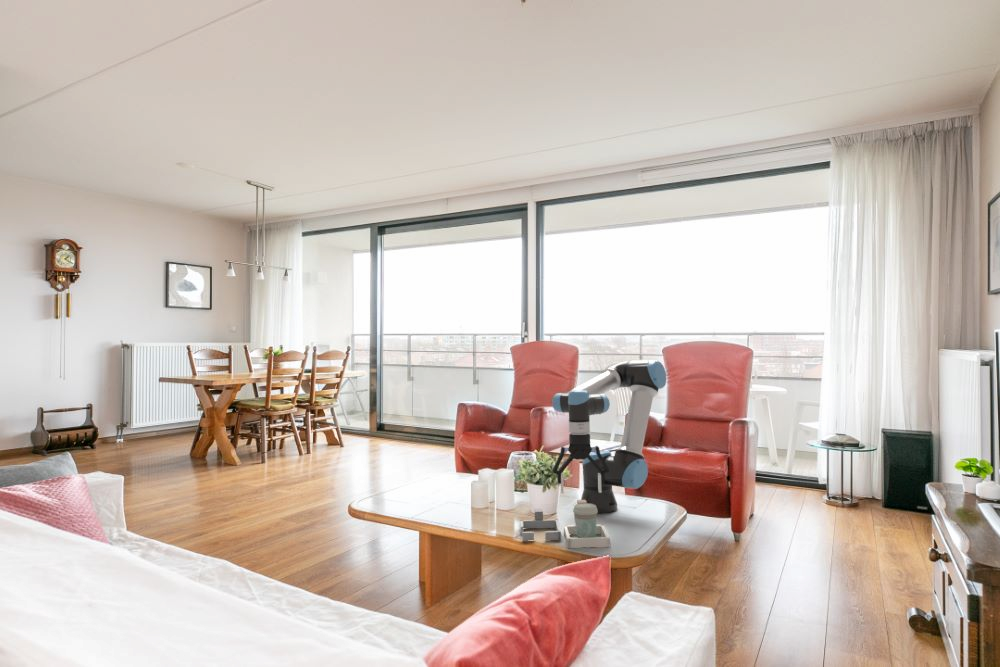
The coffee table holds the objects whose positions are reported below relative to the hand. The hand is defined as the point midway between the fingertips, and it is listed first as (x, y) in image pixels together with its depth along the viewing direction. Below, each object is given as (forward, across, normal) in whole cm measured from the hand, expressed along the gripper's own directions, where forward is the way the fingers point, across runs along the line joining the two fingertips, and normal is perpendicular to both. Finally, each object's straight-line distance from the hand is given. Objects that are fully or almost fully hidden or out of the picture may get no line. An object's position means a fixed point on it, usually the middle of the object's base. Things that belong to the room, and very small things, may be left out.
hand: (581, 492), depth 216 cm
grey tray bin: (+14, 0, -7) cm, 16 cm away
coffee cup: (+15, 0, -10) cm, 17 cm away
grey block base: (+14, -15, +1) cm, 21 cm away
